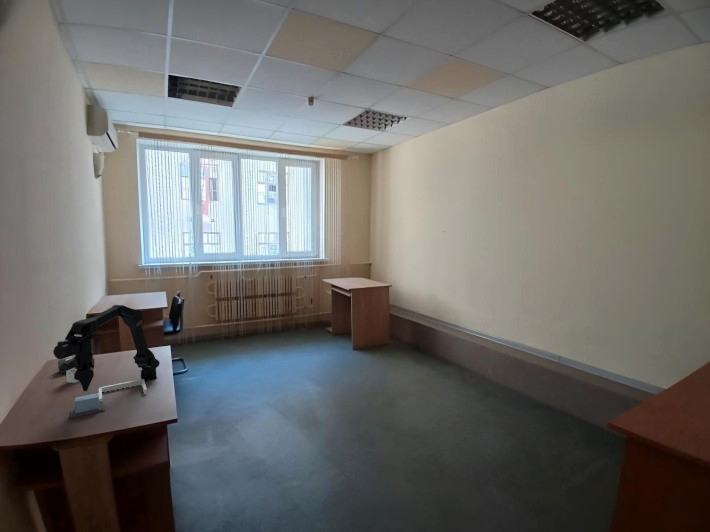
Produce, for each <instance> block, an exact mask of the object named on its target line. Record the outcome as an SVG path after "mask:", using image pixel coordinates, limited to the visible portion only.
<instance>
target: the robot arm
mask: <svg viewBox="0 0 710 532" xmlns="http://www.w3.org/2000/svg"><path fill="white" fill-rule="evenodd" d="M117 317H120V318H121V320H122V322H123V324H125V325H126V326H127V327H128V328H129V330H130V334H131V337H132V340H133V345H134V346H135V350H136V353H135V355H134V356H133V360H134V364H136V366H137V368H138V369H140V368H141V370H140V371H139V372H140V379H144V381H145V382H147V381H153V380H157V379H158V376H157V368H158V367H159V366H160V363H161V362H160V361H159V360H158V359H157V358H156V356H155V354H154V352H153V351H151V349H149V347H148V345H147V340H146V337H145V333H144V331H143V327H142V323H143V321H144V317H143V312H142V311H141V310H140V309H137V308H136V309H135V308H133V307H132V308H131V307H128V306H126V305H123V304H114V305H112V306H111V307H109V308H107V309H106V310H103V311H102V312H100V313H98V314H96V315H94V316H92V317H89V318H85V319H81V320H78V321H75V322H73V323H72V324H71V328H70V329H69V330H68V332H67V334H66V336H65V338H64V340H60V341H57V345H56V346H55V347H53V348H54V349H53V351H52V352H53V355H54V357H55V358H56V359H57V360H64V359H66V358H68V359H69V360H67V359H66V361H64V362H62V363H60V364H59V365H58V364H57V368H59V369H58V372H59V371H61V374H65V373H64V372H66V371H68V370H70V369H72V368H74V367H75V369H77V370H76V371H75V373H74V379H75V380H79V381H78V382H80V385H81V387H82V390H83V392H88V390H89V388H90V385H91V383H92V380H93V378H94V375H95V358H94V351H93V340H94V339H97V338H98V336H97V335H95V334H94V333H96V332H97V331H98V329H99V328H100V327H101V326H102V325H104V324H106V323H108V322H109V321H111V320H113V319H114V318H117ZM73 355H75V357H74V358H72V356H73ZM69 357H71V359H70V358H69ZM152 379H153V380H152Z"/></svg>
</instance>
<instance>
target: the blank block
mask: <svg viewBox="0 0 710 532" xmlns="http://www.w3.org/2000/svg"><path fill="white" fill-rule="evenodd" d="M74 408H75V413H80V412H84V411H89V410H93V409H98V408H99V392H98V393H93V394H86V395H82V396H77V397H74Z"/></svg>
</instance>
